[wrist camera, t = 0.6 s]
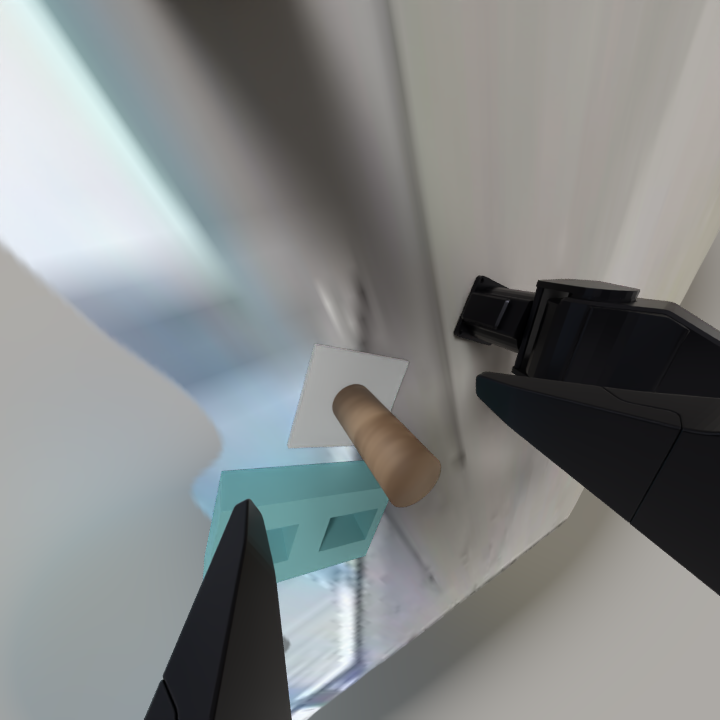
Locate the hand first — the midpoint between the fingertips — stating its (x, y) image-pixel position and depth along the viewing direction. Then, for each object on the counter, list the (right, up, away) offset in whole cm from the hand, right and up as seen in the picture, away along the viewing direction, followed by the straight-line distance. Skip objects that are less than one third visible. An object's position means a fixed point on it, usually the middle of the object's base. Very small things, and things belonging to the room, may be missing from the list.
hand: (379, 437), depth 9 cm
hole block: (-7, -12, +18) cm, 23 cm away
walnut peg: (-1, -1, +15) cm, 16 cm away
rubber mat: (-2, -1, +16) cm, 16 cm away
